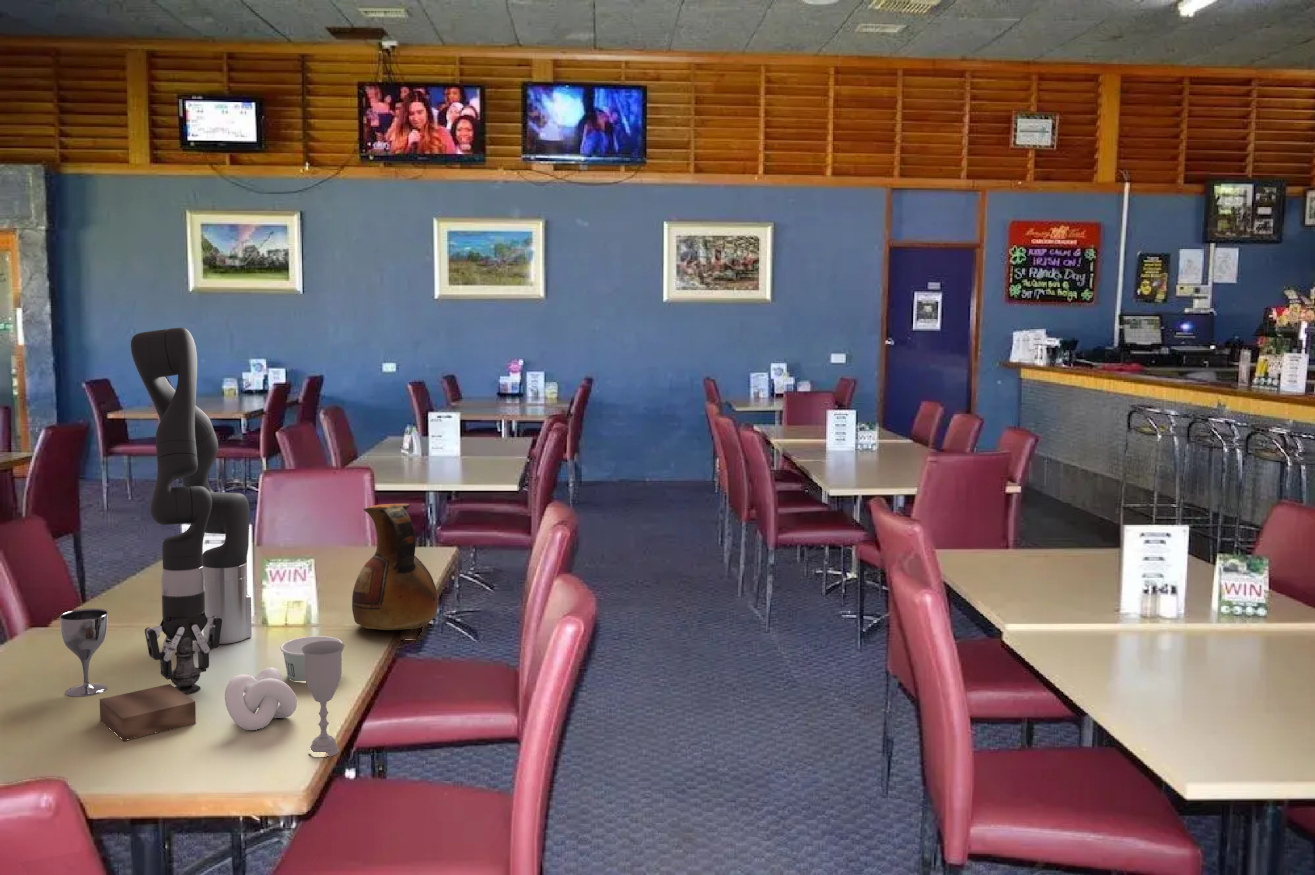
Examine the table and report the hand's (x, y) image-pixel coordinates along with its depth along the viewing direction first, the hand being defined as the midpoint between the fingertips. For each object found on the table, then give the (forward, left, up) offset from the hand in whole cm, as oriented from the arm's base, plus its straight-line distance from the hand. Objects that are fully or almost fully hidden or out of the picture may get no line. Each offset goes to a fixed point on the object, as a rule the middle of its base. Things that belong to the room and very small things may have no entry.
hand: (185, 674), depth 197 cm
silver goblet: (+14, -12, -3) cm, 19 cm away
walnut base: (+11, +12, -3) cm, 17 cm away
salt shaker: (0, 0, -3) cm, 3 cm away
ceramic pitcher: (-52, -10, -3) cm, 53 cm away
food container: (-22, +8, -3) cm, 24 cm away
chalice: (-6, +44, -3) cm, 45 cm away
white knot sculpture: (-3, +25, -3) cm, 25 cm away
